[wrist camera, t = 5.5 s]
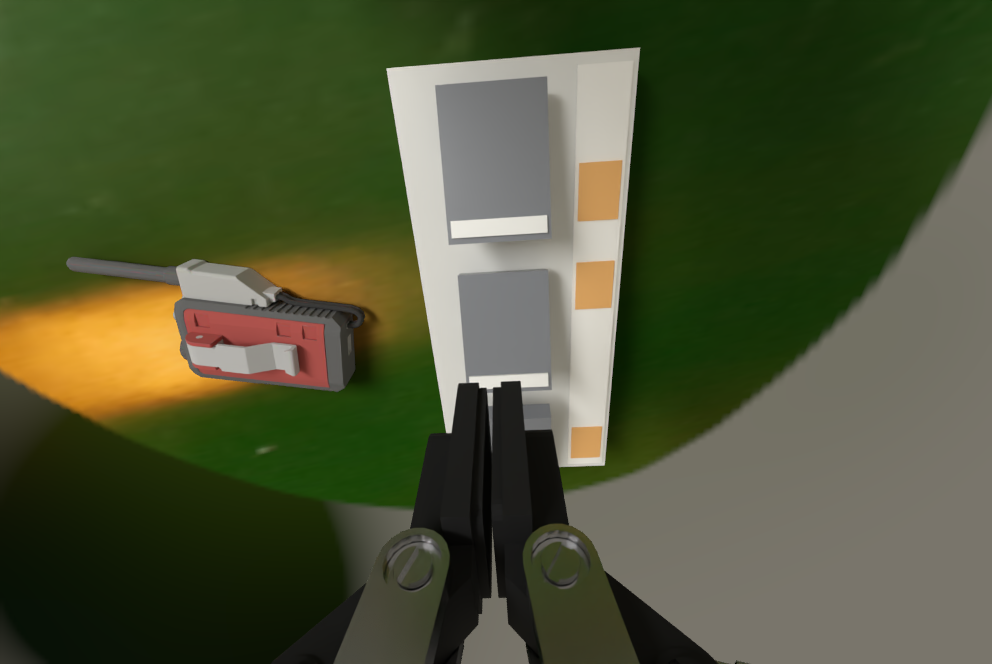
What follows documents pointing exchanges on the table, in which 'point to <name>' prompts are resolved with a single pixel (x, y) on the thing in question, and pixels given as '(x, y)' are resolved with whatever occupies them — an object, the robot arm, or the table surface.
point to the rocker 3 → (531, 417)
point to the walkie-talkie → (250, 325)
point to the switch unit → (567, 256)
